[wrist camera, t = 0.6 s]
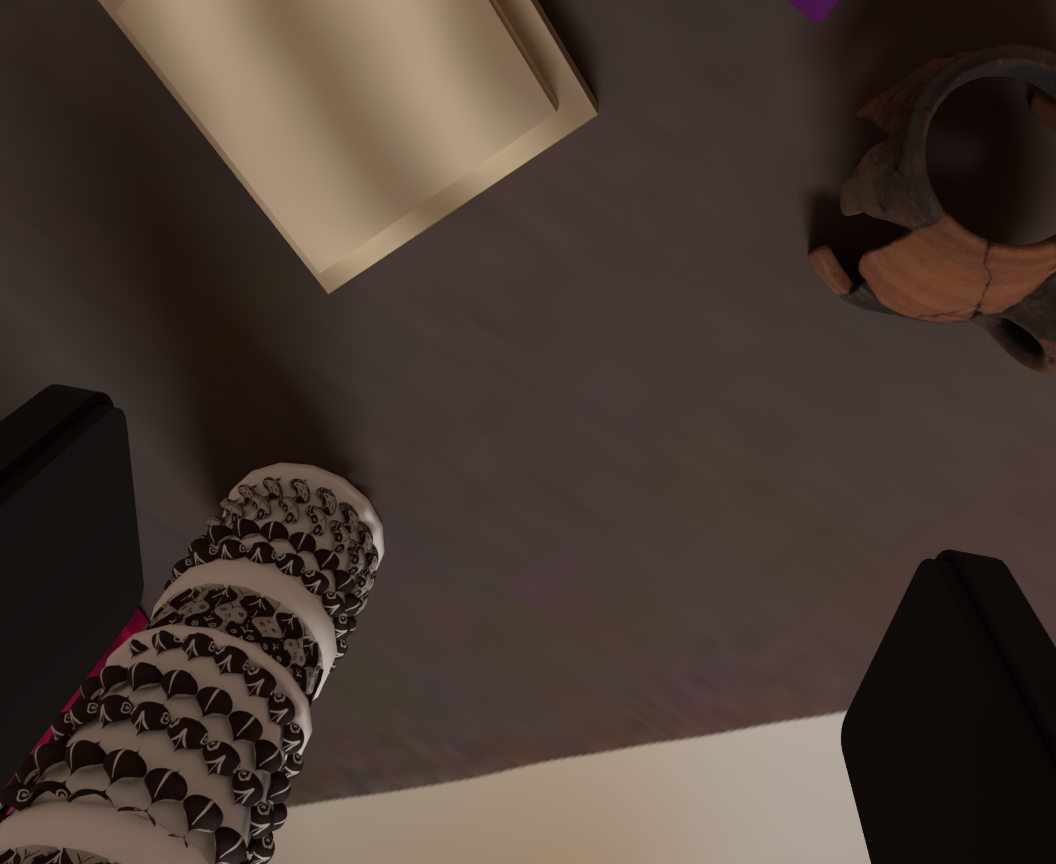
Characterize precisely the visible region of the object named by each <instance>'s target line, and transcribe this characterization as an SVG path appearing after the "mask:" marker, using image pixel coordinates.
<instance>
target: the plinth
mask: <svg viewBox="0 0 1056 864" xmlns="http://www.w3.org/2000/svg"><path fill="white" fill-rule="evenodd" d="M98 1H99V2H100V3H101V5H102V6H103V7H104V8H105V10H106V11H107V12H108V13H109V15H110V16H111V17H112V19H113V20H114V21H115V22H116V24H117V25H118V26H119V27H120V29H121V30H122V31H123V33H124V34H125V35H126V36H127V38H128V39H129V40H130V42H131V43H132V44H133V45H134V47H135V48H136V49H137V50H138V52H139V53H140V54H141V56H142V57H143V58H144V59H145V61H146V62H147V63H148V65H149V66H150V67H151V68H152V70H153V71H154V72H155V73H156V75H157V76H158V77H159V79H160V80H161V81H162V82H163V84H164V85H165V86H166V87H167V89H168V90H169V91H170V93H171V94H172V95H173V96H174V98H175V99H176V100H177V102H178V103H179V104H180V105H181V107H182V108H183V109H184V110H185V112H186V113H187V114H188V116H189V117H190V118H191V119H192V121H193V122H194V123H195V124H196V126H197V127H198V128H199V130H200V131H201V132H202V133H203V135H204V136H205V137H206V139H207V140H208V141H209V142H210V144H211V145H212V146H213V147H214V149H215V150H216V151H217V153H218V154H219V155H220V156H221V158H222V159H223V160H224V161H225V163H226V164H227V165H228V167H229V168H230V169H231V170H232V172H233V173H234V174H235V176H236V177H237V178H238V179H239V181H240V182H241V183H242V184H243V186H244V187H245V188H246V190H247V191H248V192H249V193H250V195H251V196H252V197H253V198H254V200H255V201H256V202H257V204H258V205H259V206H260V207H261V209H262V210H263V211H264V213H265V214H266V215H267V216H268V218H269V219H270V220H271V221H272V223H273V224H274V225H275V227H276V228H277V229H278V230H279V232H280V233H281V234H282V235H283V237H284V238H285V239H286V241H287V242H288V243H289V244H290V246H291V247H292V248H293V250H294V251H295V252H296V253H297V255H298V256H299V257H300V258H301V260H302V261H303V262H304V264H305V265H306V266H307V267H308V269H309V270H310V271H311V272H312V274H313V275H314V276H315V278H316V279H317V280H318V281H319V283H320V284H321V285H322V287H323V288H324V289H325V290H326V292H327V293H328V294H329V293H331V292H332V291H334V290H335V289H337V288H338V287H340V286H341V285H343V284H344V283H346V282H347V281H349V280H350V279H352V278H353V277H355V276H356V275H358V274H359V273H361V272H362V271H364V270H365V269H367V268H368V267H370V266H371V265H373V264H374V263H376V262H377V261H379V260H380V259H382V258H383V257H385V256H386V255H388V254H389V253H391V252H392V251H394V250H395V249H397V248H398V247H400V246H401V245H403V244H404V243H406V242H407V241H409V240H410V239H412V238H413V237H415V236H416V235H418V234H419V233H421V232H422V231H424V230H425V229H427V228H428V227H430V226H431V225H433V224H434V223H436V222H437V221H439V220H440V219H442V218H443V217H445V216H446V215H448V214H449V213H451V212H452V211H454V210H455V209H457V208H458V207H460V206H461V205H463V204H464V203H466V202H467V201H469V200H470V199H472V198H473V197H475V196H476V195H478V194H479V193H481V192H482V191H484V190H485V189H487V188H488V187H490V186H491V185H493V184H494V183H496V182H497V181H499V180H500V179H502V178H503V177H505V176H506V175H508V174H509V173H511V172H512V171H514V170H515V169H517V168H518V167H520V166H521V165H523V164H524V163H526V162H527V161H529V160H530V159H532V158H533V157H535V156H536V155H538V154H539V153H541V152H542V151H544V150H545V149H547V148H548V147H550V146H551V145H553V144H554V143H556V142H557V141H559V140H560V139H562V138H563V137H565V136H566V135H568V134H569V133H571V132H572V131H574V130H575V129H577V128H578V127H580V126H581V125H583V124H584V123H586V122H587V121H589V120H590V119H592V118H593V117H595V116H596V115H598V110H599V105H598V103H597V101H596V99H595V98H594V96H593V94H592V93H591V91H590V89H589V87H588V86H587V84H586V82H585V81H584V79H583V77H582V76H581V74H580V72H579V70H578V69H577V67H576V65H575V64H574V62H573V60H572V58H571V57H570V55H569V53H568V52H567V50H566V48H565V46H564V45H563V43H562V41H561V40H560V38H559V36H558V35H557V33H556V31H555V29H554V28H553V26H552V24H551V23H550V21H549V19H548V17H547V16H546V14H545V12H544V11H543V9H542V7H541V5H540V4H539V2H538V0H98Z"/></svg>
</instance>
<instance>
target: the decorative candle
mask: <svg viewBox="0 0 1056 864" xmlns="http://www.w3.org/2000/svg"><path fill="white" fill-rule="evenodd" d="M220 507H221V508H222V509H223V510H224V513H223V518H220V517H217V516H212V517H210V518H208V519H207V521H206V525H207V527H208V528H209V529H208V531H207V536H206V535H202V536H200V537H199V538H198V539H196V540H194V541H193V542H192V543H191V544H190V546H189V549H188V551H189V554H190V556H189V557H187V558H185V559H182V560H180V561H178V562H177V563H176V564H175V565H174V567H173V569H172V575H173V577H174V578H171V579H170V580H168V581H167V583H166V584H165V587H164V594H163V595H162V597H161V598H160V599H159V601H158V602H157V604H156V605H155V606H154V610H153V613H152V617H151V620H150V622H149V623H148V624H147V625H146V627H145V628H144V629H143V631H142V632H138V633H134V634H133V635H132V636H131V637H130V638H129V639H127V640H126V641H125V642H124V643H123V644H122V645H121V646H119V647H118V648H117V649H116V650H115V651H114V652H112V653H111V655H110V656H109V657H108V659H107V662H106V666H105V667H104V668H103V669H101V670H100V672H99V675H98V676H93V677H89V678H87V679H86V680H85V681H84V682H83V684H82V685H81V686H80V694H81V695H80V696H78V698H77V699H76V700H75V702H74V703H73V704H72V705H71V707H70V709H69V711H65V712H62V713H60V714H59V716H58V717H57V718H56V720H55V721H54V722H53V724H52V725H51V729H52V732H53V734H52V735H51V737H50V738H49V741H48V743H45V744H42V745H40V746H38V747H37V748H36V750H35V751H34V754H29V756H28V757H27V758H26V760H25V761H24V762H23V764H22V765H21V766H20V768H19V769H18V770H17V772H16V773H15V774H14V775H15V776H14V777H13V778H12V780H11V782H10V785H8V786H6V787H5V788H4V789H3V790H2V791H1V793H0V864H266V863H267V862H269V860H270V859H271V858H272V856H273V854H274V850H275V844H274V841H273V833H272V831H275V830H277V829H279V828H280V827H281V826H282V825H283V824H284V822H285V820H286V818H287V809H286V806H285V805H284V804H283V803H282V802H283V801H285V800H286V799H287V797H288V795H289V793H290V791H291V785H290V782H289V780H292V779H294V778H296V777H297V776H298V775H299V774H300V772H301V770H302V768H303V758H302V756H301V754H302V752H303V750H304V748H305V746H306V744H307V741H308V739H309V737H310V735H311V732H312V723H311V716H310V709H309V708H310V706H311V704H312V701H313V700H314V699H315V698H317V697H318V695H319V693H320V691H321V689H322V686H323V684H324V682H325V680H326V678H327V676H328V674H330V673H331V672H332V671H333V670H334V669H335V666H336V660H339V659H341V658H342V657H343V656H344V655H345V653H346V651H347V642H346V640H345V638H346V637H347V636H348V635H350V634H352V633H353V632H354V630H355V628H356V619H355V618H356V617H357V614H358V613H359V612H360V611H361V610H362V609H363V608H364V607H365V605H366V603H367V600H368V591H369V590H370V589H371V587H372V586H373V584H374V583H375V580H376V569H377V567H378V565H379V563H380V561H381V559H382V556H383V554H384V552H385V550H384V535H383V525H382V523H381V521H380V519H379V517H378V516H377V514H376V512H375V510H374V508H373V506H372V505H371V503H370V501H369V499H368V498H366V497H365V496H364V495H363V494H362V493H361V492H359V491H358V490H357V489H356V488H355V487H354V486H353V485H351V484H350V483H349V482H348V481H347V480H346V479H345V478H343V477H340V476H338V475H336V474H333V473H331V472H328V471H326V470H324V469H321V468H319V467H317V466H314V465H307V464H295V463H282V462H280V463H277V464H273V465H270V466H267V467H263V468H260V469H257V470H253V471H251V472H250V473H249V474H248V475H247V476H246V477H245V478H244V479H243V480H242V481H240V482H239V483H238V484H237V485H236V486H235V487H234V488H233V489H232V490H231V492H230V494H229V497H228V498H225V499H223V500H222V501H221V503H220ZM100 692H101V693H100ZM99 693H100V694H101V696H100V694H99ZM99 696H100V697H99ZM73 727H75V729H72V728H73ZM37 771H39V772H37ZM43 774H45V775H44V776H43V777H42V779H41V780H40V782H39V783H38V784H36V785H35V783H36V780H37V777H38V775H39V777H41V776H42V775H43ZM39 777H38V778H39ZM268 803H271V804H273V806H272V809H271V807H270V806H269V805H268ZM11 806H12V807H14V808H16V809H17V810H16V811H15V812H12V813H11V814H8V815H6V813H7V811H8V810H9V809H10V807H11ZM247 853H249V854H253V856H252V858H251V860H248V858H247ZM246 859H247V860H246Z"/></svg>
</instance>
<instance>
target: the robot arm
mask: <svg viewBox="0 0 1056 864" xmlns="http://www.w3.org/2000/svg"><path fill="white" fill-rule="evenodd" d="M143 589H144V582H143V573H142V563H141V554H140V544H139V535H138V525H137V516H136V507H135V497H134V488H133V478H132V469H131V460H130V450H129V441H128V431H127V422H126V417H125V414H124V412H123V411H122V410H121V409H119V408H116V407H114V406H113V402H112V400H111V399H110V397H109V396H108V395H107V394H105V393H103V392H97V391H92V390H87V389H81V388H76V387H70V386H65V385H60V384H52V385H50V386H48V387H46V388H45V389H43V390H42V391H41V392H39V393H38V394H37V395H35V396H34V397H33V398H31V399H30V400H29V401H27V402H26V403H25V404H23V405H22V406H21V407H19V408H18V409H17V410H15V411H14V412H13V413H11V414H10V415H9V416H7V417H6V418H4V419H3V420H2V421H0V793H1V791H2V790H3V789H4V787H5V786H6V785H7V783H8V782H9V781H10V779H11V778H12V777H13V776H14V774H15V773H16V772H17V770H18V769H19V768H20V766H21V765H22V764H23V762H24V761H25V760H26V758H27V757H28V756H29V754H30V753H31V752H32V750H33V749H34V748H35V746H36V745H37V744H38V742H39V741H40V740H41V738H42V737H43V736H44V734H45V733H46V732H47V730H48V729H49V728H50V726H51V725H52V724H53V722H54V721H55V720H56V718H57V717H58V716H59V714H60V713H61V712H62V710H63V709H64V708H65V706H66V705H67V704H68V702H69V701H70V700H71V698H72V697H73V696H74V694H75V693H76V692H77V690H78V689H79V688H80V686H81V685H82V684H83V682H84V681H85V680H86V679H87V677H88V676H89V675H90V673H91V672H92V671H93V669H94V668H95V667H96V665H97V664H98V663H99V661H100V660H101V659H102V657H103V656H104V655H105V653H106V652H107V651H108V649H109V648H110V647H111V645H112V644H113V643H114V641H115V640H116V639H117V637H118V636H119V635H120V633H121V632H122V631H123V629H124V628H125V627H126V625H127V624H128V623H129V621H130V620H131V619H132V617H133V616H134V614H135V613H136V611H137V609H138V607H139V605H140V602H141V599H142V595H143ZM841 746H842V752H843V755H844V760H845V764H846V768H847V771H848V775H849V779H850V783H851V787H852V791H853V795H854V799H855V803H856V806H857V810H858V814H859V818H860V822H861V826H862V830H863V833H864V837H865V841H866V845H867V849H868V853H869V857H870V860H871V864H1056V647H1055V646H1054V644H1053V642H1052V641H1051V639H1050V637H1049V636H1048V634H1047V632H1046V631H1045V629H1044V627H1043V626H1042V624H1041V622H1040V621H1039V619H1038V617H1037V616H1036V614H1035V612H1034V611H1033V609H1032V607H1031V606H1030V604H1029V602H1028V601H1027V599H1026V597H1025V596H1024V594H1023V592H1022V591H1021V589H1020V587H1019V586H1018V584H1017V582H1016V581H1015V579H1014V577H1013V576H1012V574H1011V572H1010V571H1009V569H1008V567H1007V566H1006V565H1005V564H1004V563H1003V561H1002V560H999V559H997V558H992V557H987V556H982V555H976V554H971V553H965V552H960V551H955V550H945V551H942V552H941V553H940V554H939V555H938V556H937V557H936V559H935V560H934V559H925V560H924V561H922V562H921V563H920V565H919V566H918V568H917V570H916V572H915V574H914V576H913V578H912V580H911V582H910V584H909V586H908V588H907V590H906V592H905V594H904V597H903V599H902V601H901V603H900V605H899V607H898V609H897V611H896V613H895V615H894V617H893V619H892V621H891V623H890V625H889V627H888V629H887V631H886V633H885V636H884V638H883V640H882V642H881V644H880V646H879V648H878V650H877V652H876V654H875V656H874V658H873V660H872V662H871V664H870V666H869V668H868V670H867V672H866V674H865V677H864V679H863V681H862V683H861V685H860V687H859V689H858V691H857V693H856V695H855V697H854V699H853V701H852V703H851V705H850V707H849V709H848V711H847V713H846V716H845V718H844V722H843V725H842V731H841Z"/></svg>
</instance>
